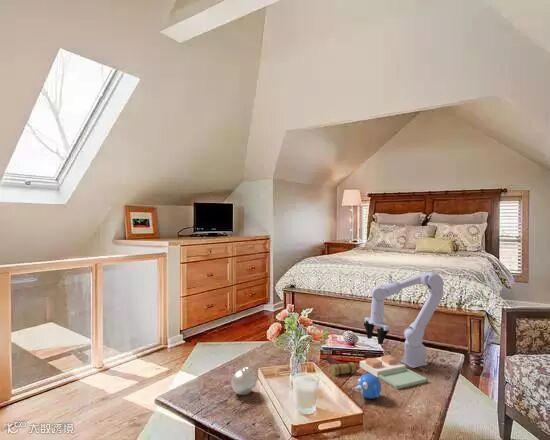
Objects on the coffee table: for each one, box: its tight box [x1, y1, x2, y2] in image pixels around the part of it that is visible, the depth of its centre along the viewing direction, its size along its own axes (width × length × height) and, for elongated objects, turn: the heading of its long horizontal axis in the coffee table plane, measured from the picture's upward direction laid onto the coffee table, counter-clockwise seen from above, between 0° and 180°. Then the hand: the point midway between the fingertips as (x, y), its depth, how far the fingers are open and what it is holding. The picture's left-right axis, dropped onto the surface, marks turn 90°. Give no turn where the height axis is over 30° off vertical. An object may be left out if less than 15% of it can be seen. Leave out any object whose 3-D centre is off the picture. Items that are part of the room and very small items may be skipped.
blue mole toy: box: [351, 373, 382, 400], centre depth 134 cm, size 12×12×8 cm
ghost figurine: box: [230, 366, 257, 396], centre depth 136 cm, size 9×10×10 cm
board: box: [359, 356, 407, 378], centre depth 160 cm, size 16×12×2 cm
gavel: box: [324, 354, 357, 377], centre depth 163 cm, size 21×5×10 cm
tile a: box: [380, 354, 399, 365], centre depth 162 cm, size 5×5×2 cm
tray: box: [377, 367, 428, 390], centre depth 149 cm, size 16×11×2 cm
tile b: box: [365, 357, 382, 368], centre depth 158 cm, size 5×5×2 cm
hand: (374, 341), depth 168 cm, fingers open, 7 cm apart
